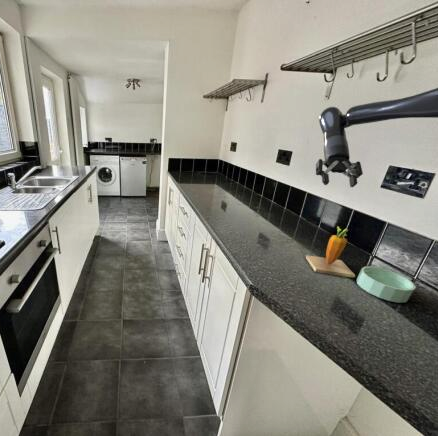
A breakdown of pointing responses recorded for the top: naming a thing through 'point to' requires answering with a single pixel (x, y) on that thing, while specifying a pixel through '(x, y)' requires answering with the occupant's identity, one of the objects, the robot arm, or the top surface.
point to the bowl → (385, 284)
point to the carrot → (336, 246)
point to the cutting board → (329, 266)
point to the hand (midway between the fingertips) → (339, 184)
